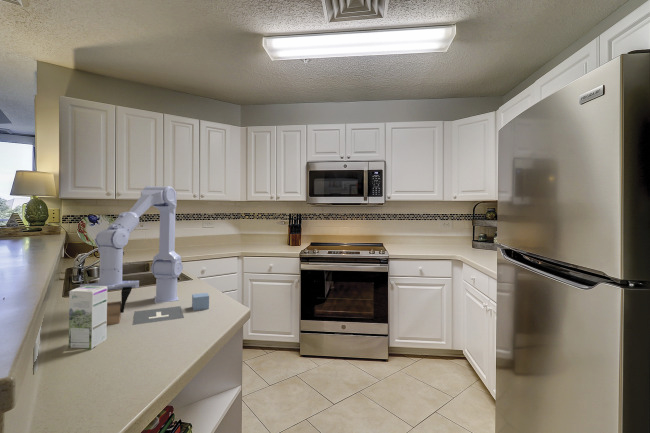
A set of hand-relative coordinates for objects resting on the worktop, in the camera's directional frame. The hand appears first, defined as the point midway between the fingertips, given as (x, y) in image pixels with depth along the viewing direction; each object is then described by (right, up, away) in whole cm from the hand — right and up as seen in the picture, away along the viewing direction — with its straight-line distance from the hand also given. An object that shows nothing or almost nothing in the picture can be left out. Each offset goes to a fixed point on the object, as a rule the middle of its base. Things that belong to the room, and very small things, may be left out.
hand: (110, 313), depth 92 cm
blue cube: (+21, -4, +16) cm, 26 cm away
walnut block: (0, -3, 0) cm, 3 cm away
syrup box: (+5, -3, -15) cm, 17 cm away
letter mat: (+11, -3, +7) cm, 13 cm away
